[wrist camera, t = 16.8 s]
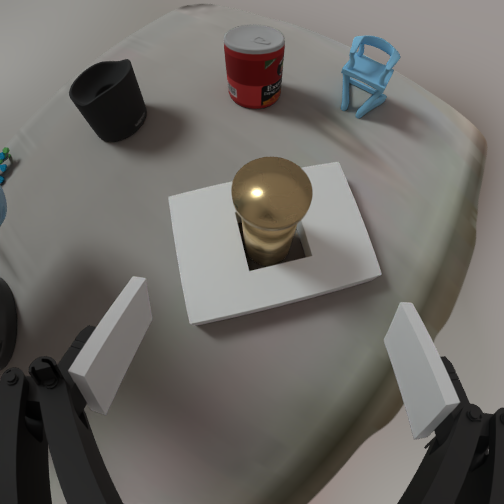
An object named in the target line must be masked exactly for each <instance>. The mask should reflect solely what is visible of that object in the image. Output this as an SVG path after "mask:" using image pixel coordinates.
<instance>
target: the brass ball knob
mask: <svg viewBox="0 0 504 504" xmlns="http://www.w3.org/2000/svg"><path fill="white" fill-rule="evenodd" d="M231 194H232V200H233V205H234V208H235V210H236V212H237V213H238V215H239V216H240V217H241V219H242V227H243V235H244V242H245V249H246V252H247V254H248V256H249V257H250V258H251V259H252V260H253V261H254V262H256V263H257V264H260V265H264V266H272V265H275V264H278V263H280V262H281V261H283V260H284V259H285V257H286V256H287V254H288V252H289V249H290V246H291V243H292V240H293V237H294V233H295V230H296V227H297V224H298V223H299V222H300V221H301V220H302V219H303V218H304V217H305V215H306V214H307V212H308V210H309V207H310V204H311V201H312V196H313V190H312V185H311V182H310V180H309V177H308V176H307V174H306V173H305V172H304V171H303V170H302V169H301V168H300V167H299V166H298V165H296V164H295V163H293V162H291V161H289V160H286V159H283V158H279V157H263V158H259V159H255V160H253V161H251V162H249V163H247V164H246V165H244V166H243V167H242V168H241V169H240V170H239V171H238V172H237V174H236V176H235V177H234V180H233V183H232V188H231Z"/></svg>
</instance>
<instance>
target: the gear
mask: <svg viewBox="0 0 504 504" xmlns="http://www.w3.org/2000/svg"><path fill="white" fill-rule="evenodd" d="M8 152H9V148H4V149H3V152H1V153H0V164H2V163H3V162H4V161H5V160H7V159H8V158H10V156H11V155H10V154H8ZM6 168H7V165H6V164H3V165H0V169H1V171H2V172H4V171H6ZM3 181H4V177H2V176H0V184H1V183H2V182H3Z"/></svg>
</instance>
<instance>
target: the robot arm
mask: <svg viewBox="0 0 504 504" xmlns="http://www.w3.org/2000/svg"><path fill="white" fill-rule="evenodd" d="M6 212H7V203H6V199H5V195H4V192H3V190H2V187H1V185H0V226H1V225H2V223H3V221H4V219H5V217H6ZM152 320H153V318H152V312H151V307H150V300H149V294H148V287H147V280H146V278H142V277H135V276H133V277H132V278H131V280H130V281H129V282H128V284H127V285H126V286H125V288H124V289H123V290H122V292H121V293H120V294H119V296H118V297H117V299H116V300H115V301H114V303H113V304H112V306H111V307H110V308H109V310H108V311H107V313H106V314H105V316H104V317H103V318H102V320H101V321H100V323H99V324H98V326H97V327H94V326H90V325H89V326H87V327H86V328H85V329H83V330H82V331H81V332H80V333H79V334H78V336H77V337H76V339H75V341H74V342H73V343H72V344H71V347H69V349H68V350H67V352H66V353H65V355H64V356H63V358H62V359H61V361H60V362H59V364H58V365H57V364H56V362H55V360H54V359H52V358H51V357H48V356H43V357H39V358H37V359H35V360H34V361H33V362H32V363H31V365H30V367H29V374H30V375H31V377H30V376H25V375H24V374H23V372H22V370H20V369H19V368H10V369H8V370H6V371H5V372H4V373H3V375H2V377H1V380H0V504H52V500H51V491H50V480H49V465H48V445H49V449H50V453H51V457H52V460H53V464H54V467H55V470H56V474H57V477H58V480H59V483H60V486H61V488H62V491H63V494H64V497H65V499H66V502H67V504H123V502H122V500H121V498H120V496H119V494H118V492H117V490H116V488H115V486H114V484H113V482H112V480H111V478H110V475H109V473H108V471H107V469H106V466H105V464H104V462H103V459H102V457H101V454H100V452H99V449H98V447H97V444H96V441H95V439H94V436H93V433H92V430H91V428H90V425H89V422H88V419H87V416H86V413H85V411H84V408H85V406H86V404H88V406H89V408H90V409H91V410H92V411H95V412H97V413H100V414H103V415H106V414H107V412H108V410H109V408H110V405H111V403H112V401H113V399H114V397H115V395H116V392H117V390H118V388H119V386H120V384H121V382H122V380H123V378H124V376H125V373H126V371H127V369H128V367H129V365H130V363H131V361H132V359H133V357H134V355H135V353H136V351H137V349H138V347H139V345H140V343H141V341H142V339H143V337H144V335H145V333H146V331H147V329H148V327H149V325H150V323H151V321H152ZM16 331H17V319H16V309H15V304H14V300H13V296H12V293H11V291H10V289H9V287H8V285H7V284H6V282H5V281H4V280H3V279H2V278H0V370H1V369H3V368H4V367H5V366H6V365H7V363H8V362H9V360H10V358H11V356H12V353H13V350H14V346H15V341H16ZM384 343H385V346H386V349H387V351H388V354H389V357H390V360H391V363H392V366H393V369H394V372H395V375H396V379H397V382H398V385H399V388H400V391H401V395H402V398H403V401H404V405H405V408H406V412H407V415H408V419H409V423H410V427H411V430H412V434H413V438H414V439H420V438H425V437H428V436H429V435H430V434H431V433H432V432H433V431H435V434H436V436H435V437H434V438H433V439H432V440H431V441H430V442H429V443H428V444H427V445H426V446H425V447H424V448H425V449H426V448H427V447H428V446H429V445H430V446H429V448H428V450H427V453H426V454H425V456H424V459H423V460H422V462H421V464H420V466H419V468H418V470H417V472H416V474H415V475H414V477H413V479H412V481H411V482H410V484H409V486H408V487H407V489H406V491H405V492H404V494H403V496H402V497H401V499H400V500H399V502H398V503H397V504H504V408H500V409H498V410H497V411H496V412H495V413H494V414H487V413H483V412H482V410H481V409H480V408H479V407H478V406H477V405H474V404H470V403H469V401H468V398H467V396H466V393H465V391H464V389H463V387H462V384H461V382H460V380H459V378H458V376H457V374H456V372H455V369H454V367H453V365H452V363H451V362H450V361H449V360H448V359H447V358H446V357H445V356H444V357H440V356H439V354H438V352H437V349H436V347H435V345H434V343H433V341H432V339H431V337H430V335H429V333H428V332H427V330H426V328H425V326H424V324H423V322H422V320H421V318H420V316H419V315H418V313H417V311H416V309H415V307H414V305H413V304H412V303H408V302H400V304H399V306H398V309H397V311H396V313H395V316H394V318H393V320H392V323H391V325H390V327H389V330H388V332H387V334H386V336H385V338H384ZM488 449H489V452H488Z"/></svg>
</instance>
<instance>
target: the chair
mask: <svg viewBox="0 0 504 504" xmlns="http://www.w3.org/2000/svg"><path fill="white" fill-rule="evenodd" d="M364 44H367V45H371V46H374V47H376V48H379V49H381V50H383V51H385V52H386V53H387V54H389V55H390V56H391V57H390V59H389V61H388V62H387V64H386V66H385V65H383V64H381V63H378V62H376V61H374V60H372V59H370V58H368V57H366V56H364V55H363V53H364ZM359 45H360V48H359V51H358V52H356V51H357V49H358V47H359ZM349 56H350V60H349V61H348V62H347V63H346V65H345V66H344V67H343V68H342V72H341V73H343V95H342V105H341V110H342V111H346V110H347V107H348V105H349V83H351V84H353V85H355V86H357V87H359V88H361V89H363V90H365V91H367V92H369V93H371V94H373V95H372V96H371V97H370V98H369V99H368V100H367V101H366V102H365V103H364V104H363V105H362V106H361V107H360V108H359V109H358V110H357V113H356V117H357V118H361V117H362V116H363V115H365V114H366V113H367V112H369V111H370V110H372V109H374V108H375V107H377V106H379V105H380V104H382V103H383V102H384V101H385V100H386V98H387V96H386V95H384V94H382V93H383V92H384V90H385V88H386V86H387V84H388V82H389V80H390V78H391V76H392V74H393V71H394V70H393V69H392V68H393V66H394V65H395V64H396V63H397V62H398V60H399V59H400V54H399V53H398V51H396V49H395V48H393V46H392V45H391V44H390V43H388V42H387V41H385V40H384V39H382V38H379V37H375V36H357V37H355V38H354V40H353V43H352V47H351V50H350V55H349ZM350 77H352V78H355V79H358V80H360V81H362V82H364V83H366V84H368V85H369V86H371V87H373V88H374V89H373V88H371V87H369V86H367V85H365V84H363V83H361V82H358V81H356V80H354V79H352V78H350ZM375 89H376V90H375ZM378 97H379V98H378ZM377 98H378V99H377Z"/></svg>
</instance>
